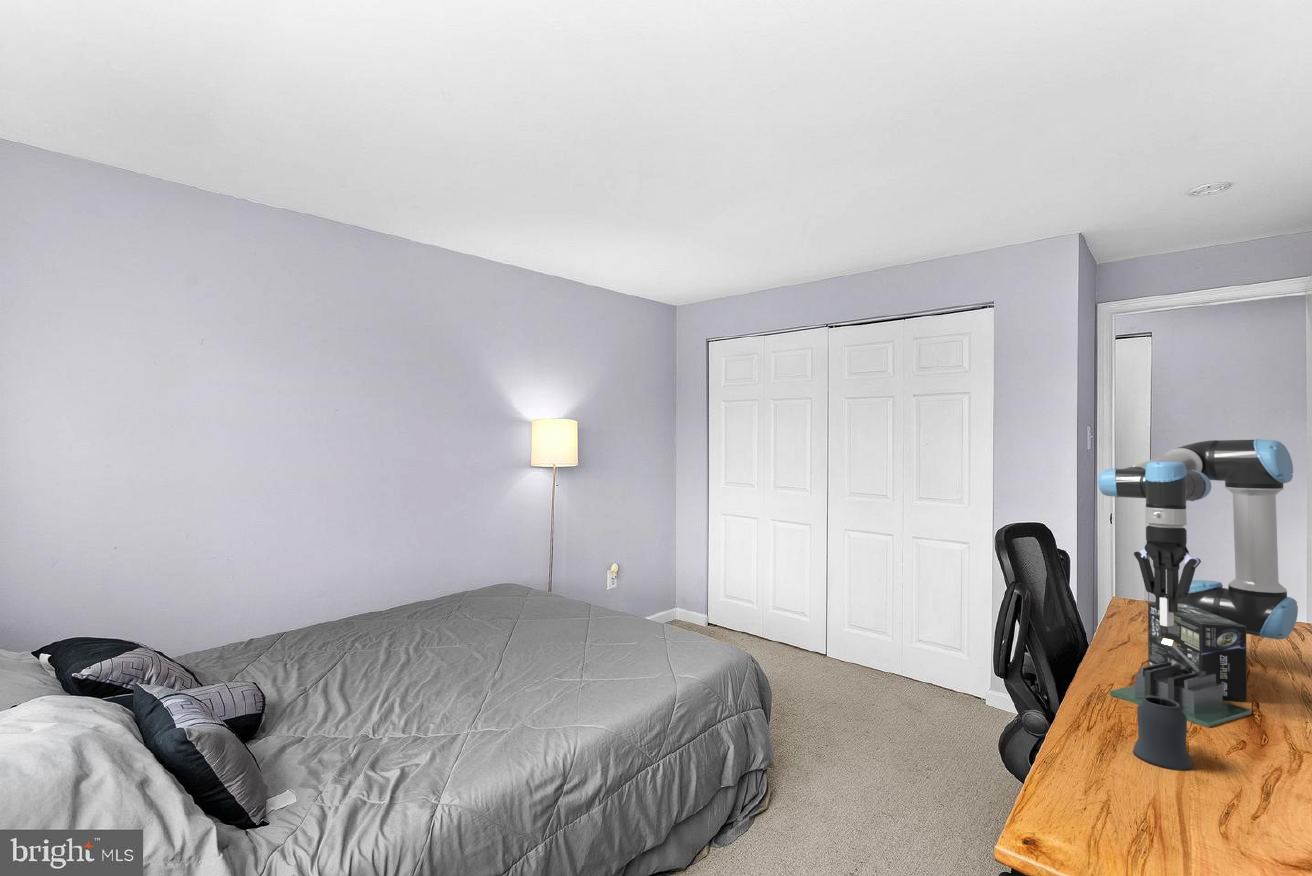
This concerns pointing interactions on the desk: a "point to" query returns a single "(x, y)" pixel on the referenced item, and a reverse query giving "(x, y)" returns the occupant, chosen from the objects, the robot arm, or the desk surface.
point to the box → (1203, 646)
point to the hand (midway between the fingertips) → (1166, 625)
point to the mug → (1162, 734)
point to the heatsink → (1183, 693)
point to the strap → (1179, 655)
